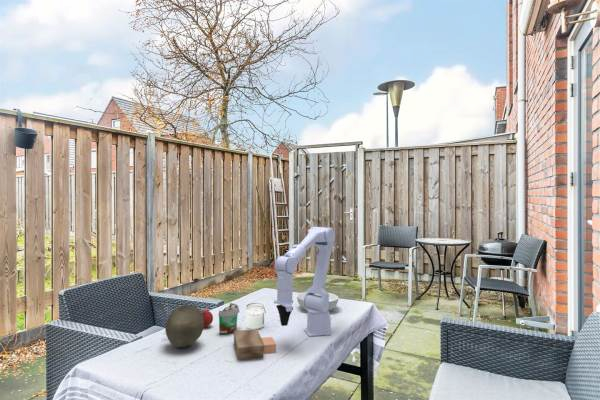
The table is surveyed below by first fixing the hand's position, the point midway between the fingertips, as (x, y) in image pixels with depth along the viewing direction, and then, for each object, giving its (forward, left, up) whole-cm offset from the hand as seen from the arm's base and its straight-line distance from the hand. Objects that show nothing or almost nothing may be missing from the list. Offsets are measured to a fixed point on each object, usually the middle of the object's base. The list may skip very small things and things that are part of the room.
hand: (284, 325), depth 135 cm
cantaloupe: (+36, -9, -9) cm, 38 cm away
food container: (+18, -21, -9) cm, 29 cm away
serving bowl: (-27, -42, -9) cm, 51 cm away
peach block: (+9, 0, -8) cm, 12 cm away
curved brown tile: (+13, 0, -8) cm, 16 cm away
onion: (+28, -28, -9) cm, 40 cm away
